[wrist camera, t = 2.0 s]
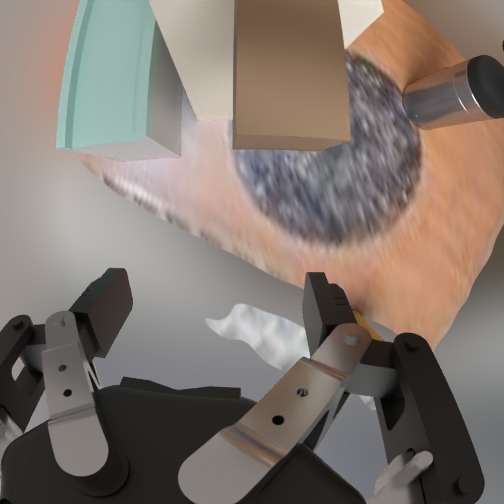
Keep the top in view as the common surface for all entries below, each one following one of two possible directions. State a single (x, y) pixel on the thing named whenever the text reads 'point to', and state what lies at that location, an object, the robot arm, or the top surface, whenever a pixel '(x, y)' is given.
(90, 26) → the teal tray
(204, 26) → the cream box stand
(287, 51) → the tan block
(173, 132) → the grey block
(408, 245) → the top surface
